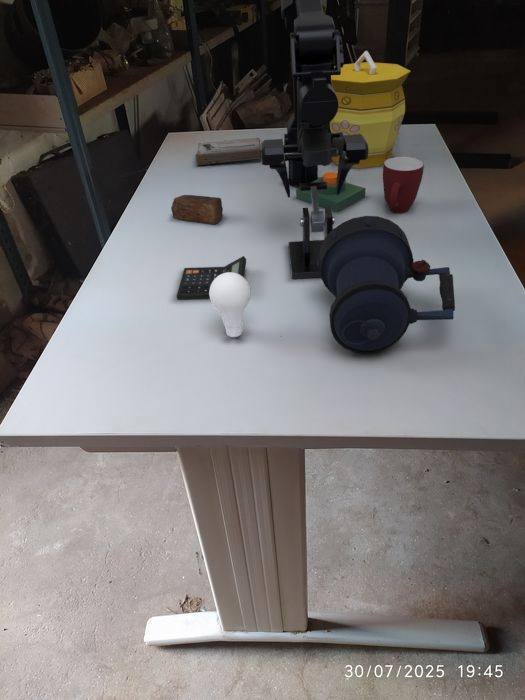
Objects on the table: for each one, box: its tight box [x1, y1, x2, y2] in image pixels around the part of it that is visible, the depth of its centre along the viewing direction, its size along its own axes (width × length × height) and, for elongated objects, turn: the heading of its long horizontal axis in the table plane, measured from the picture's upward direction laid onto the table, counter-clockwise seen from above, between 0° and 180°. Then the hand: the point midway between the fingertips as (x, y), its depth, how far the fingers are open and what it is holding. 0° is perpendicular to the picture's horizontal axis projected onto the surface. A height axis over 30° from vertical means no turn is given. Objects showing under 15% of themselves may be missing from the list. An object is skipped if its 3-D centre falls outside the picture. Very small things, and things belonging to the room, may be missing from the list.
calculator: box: [176, 255, 247, 301], centre depth 96 cm, size 9×12×3 cm
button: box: [322, 171, 338, 185], centre depth 120 cm, size 4×4×2 cm
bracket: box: [288, 206, 336, 280], centre depth 98 cm, size 12×10×10 cm
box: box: [195, 137, 262, 166], centre depth 145 cm, size 11×17×3 cm, turn 91°
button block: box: [295, 176, 366, 213], centre depth 122 cm, size 12×10×4 cm
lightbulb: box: [209, 272, 252, 338], centre depth 81 cm, size 6×6×11 cm
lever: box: [300, 182, 327, 233], centre depth 98 cm, size 11×5×2 cm, turn 1°
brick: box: [170, 194, 224, 225], centre depth 117 cm, size 11×4×5 cm, turn 69°
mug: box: [382, 156, 425, 214], centre depth 112 cm, size 10×8×10 cm
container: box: [330, 50, 411, 170], centre depth 134 cm, size 21×21×25 cm
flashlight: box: [317, 215, 456, 354], centre depth 80 cm, size 15×21×20 cm
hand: (313, 195), depth 102 cm, fingers open, 9 cm apart
